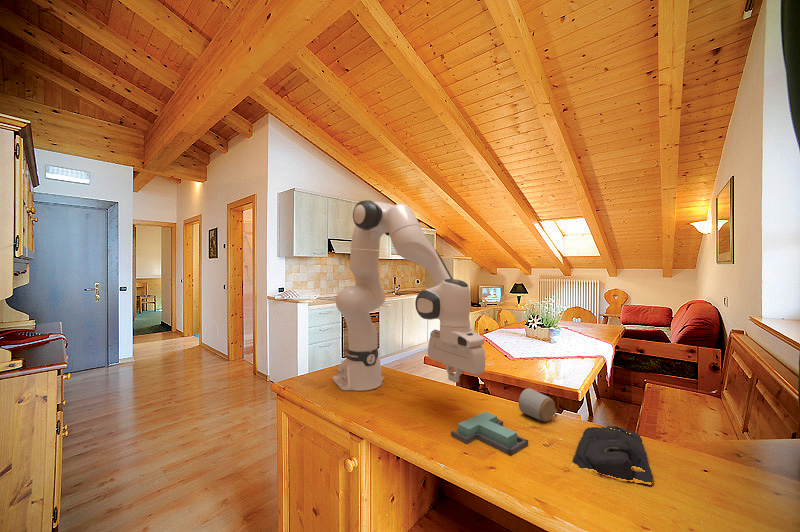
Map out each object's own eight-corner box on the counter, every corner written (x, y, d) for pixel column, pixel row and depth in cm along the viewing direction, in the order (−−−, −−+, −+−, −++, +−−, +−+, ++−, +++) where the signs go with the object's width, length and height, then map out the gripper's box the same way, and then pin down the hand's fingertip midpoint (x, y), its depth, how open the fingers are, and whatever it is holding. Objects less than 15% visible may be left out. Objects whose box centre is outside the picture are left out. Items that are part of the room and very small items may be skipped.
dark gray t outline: (451, 435, 91) (450, 431, 91) (487, 418, 101) (487, 414, 101) (500, 461, 79) (500, 456, 79) (536, 439, 88) (536, 435, 88)
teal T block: (457, 434, 92) (457, 423, 92) (485, 421, 99) (485, 411, 99) (498, 455, 82) (497, 443, 82) (525, 439, 89) (525, 427, 89)
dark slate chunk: (651, 445, 86) (651, 426, 86) (653, 493, 68) (653, 470, 68) (583, 429, 95) (583, 412, 95) (569, 468, 77) (569, 447, 77)
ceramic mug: (541, 426, 96) (541, 398, 96) (517, 415, 103) (517, 390, 103) (564, 417, 101) (563, 391, 101) (540, 407, 108) (539, 383, 108)
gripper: (423, 329, 106) (422, 373, 107) (474, 343, 90) (472, 394, 90) (438, 327, 110) (437, 369, 110) (489, 340, 94) (488, 389, 94)
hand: (453, 380), depth 100 cm, fingers closed
